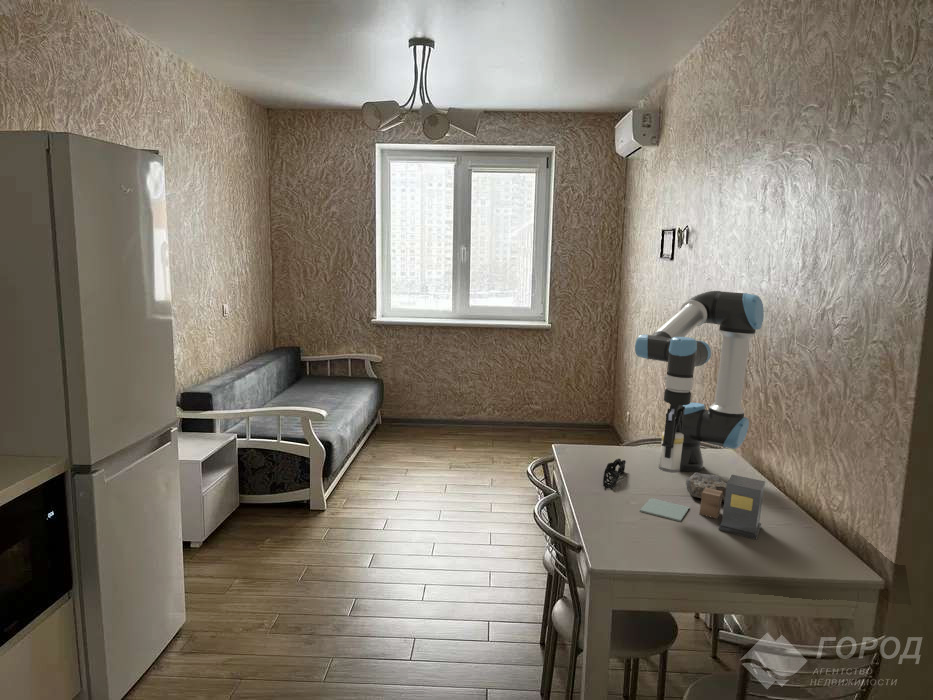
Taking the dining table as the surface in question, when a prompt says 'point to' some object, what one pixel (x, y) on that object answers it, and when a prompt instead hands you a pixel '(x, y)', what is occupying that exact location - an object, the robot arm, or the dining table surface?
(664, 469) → the cartridge
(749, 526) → the box
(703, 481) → the rock
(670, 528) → the dining table surface
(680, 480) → the dining table surface
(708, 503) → the walnut block
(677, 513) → the mat
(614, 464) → the decorative element
